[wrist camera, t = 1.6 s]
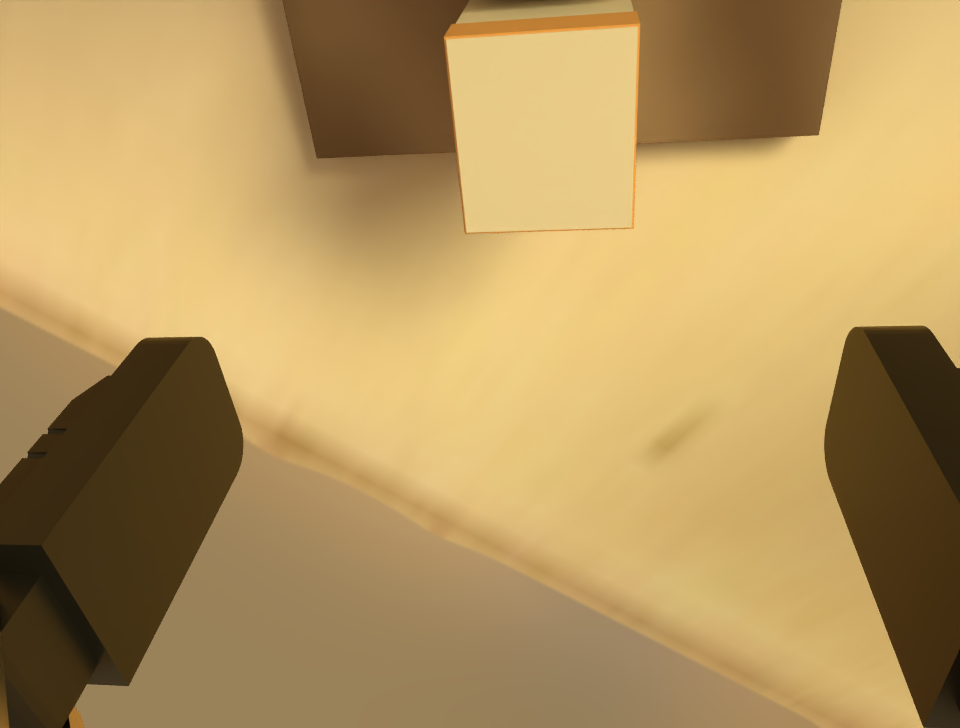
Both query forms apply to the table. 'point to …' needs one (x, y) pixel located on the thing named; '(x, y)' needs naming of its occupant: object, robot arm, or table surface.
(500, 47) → the orange-striped cream block
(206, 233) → the table surface
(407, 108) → the ticket board
